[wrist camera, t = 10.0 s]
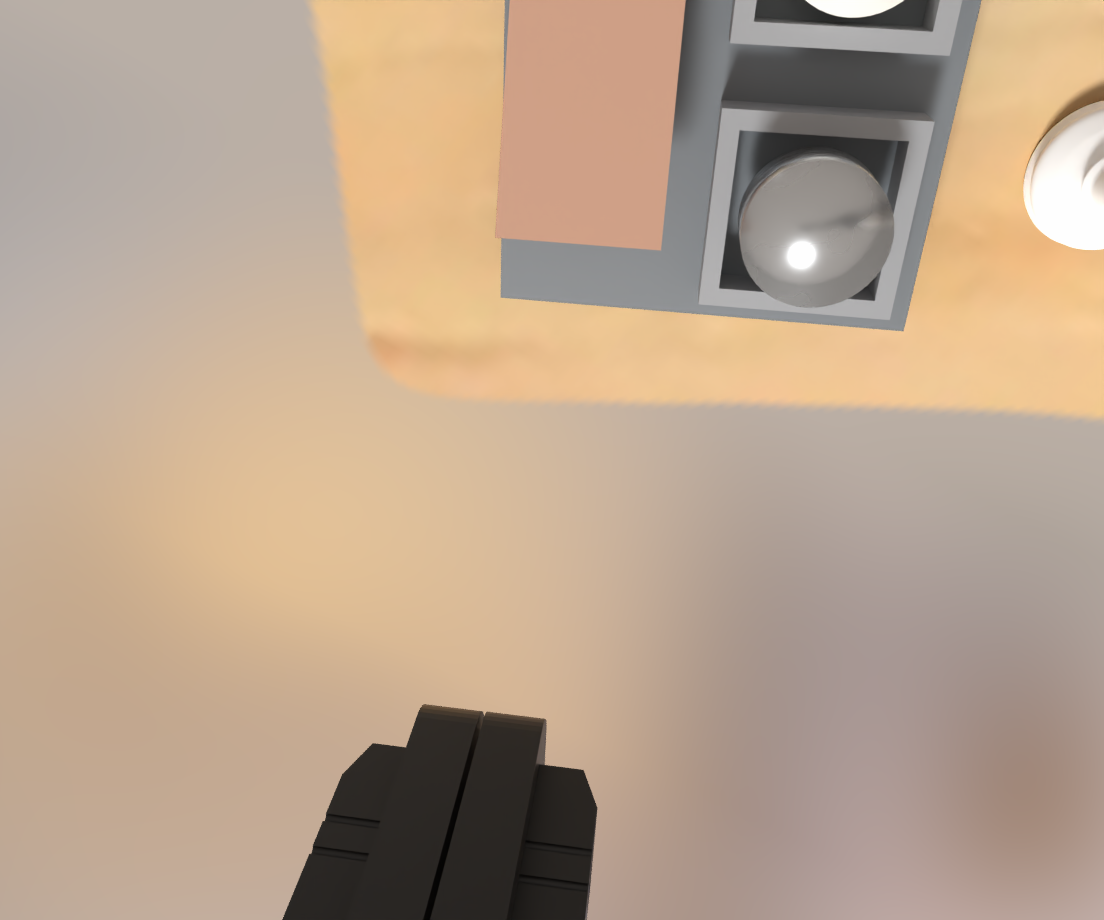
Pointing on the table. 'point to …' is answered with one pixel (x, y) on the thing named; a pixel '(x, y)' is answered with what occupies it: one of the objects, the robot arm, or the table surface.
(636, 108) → the rocker
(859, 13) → the white button
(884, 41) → the panel
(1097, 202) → the chess piece
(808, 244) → the metal button
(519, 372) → the table surface
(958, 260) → the table surface
